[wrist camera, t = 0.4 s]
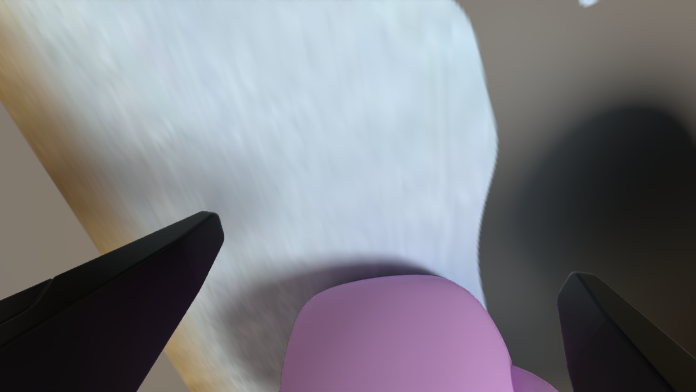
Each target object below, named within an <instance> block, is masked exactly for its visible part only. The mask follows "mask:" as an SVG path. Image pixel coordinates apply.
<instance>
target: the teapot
mask: <svg viewBox="0 0 696 392" xmlns="http://www.w3.org/2000/svg"><path fill="white" fill-rule="evenodd" d="M280 392H558V391H557V390H556V389H555V388H553V387H552V386H551V385H550V384H549V383H547V382H546V381H544V380H542V379H541V378H539V377H537V376H536V375H534V374H532V373H530V372H528V371H525V370H523V369H521V368H518V367H516V366H513V365H512V362H511V359H510V356H509V353H508V350H507V348H506V345H505V343H504V341H503V339H502V337H501V335H500V333H499V331H498V329H497V328H496V326H495V324H494V322H493V321H492V319H491V317H490V316H489V314H488V313H487V311H486V310H485V309H484V307H483V306H482V305H481V303H480V302H479V301H478V300H477V299H476V298H475V297H474V296H473V295H472V294H471V293H470V292H469V291H467V290H466V289H464V288H463V287H461V286H459V285H458V284H456V283H454V282H453V281H450V280H448V279H445V278H443V277H438V276H433V275H396V276H385V277H377V278H370V279H364V280H359V281H354V282H349V283H345V284H341V285H338V286H335V287H331V288H329V289H326V290H324V291H322V292H320V293H318V294H317V295H315V296H313V297H312V298H311V299H310V300H309V301H308V302H307V303H306V304H305V305H304V306H303V308H302V309H301V311H300V313H299V315H298V317H297V319H296V321H295V323H294V326H293V329H292V332H291V335H290V338H289V342H288V345H287V349H286V353H285V358H284V363H283V369H282V374H281V383H280Z"/></svg>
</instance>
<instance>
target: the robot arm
mask: <svg viewBox="0 0 696 392" xmlns="http://www.w3.org/2000/svg"><path fill="white" fill-rule="evenodd" d="M223 242H224V232H223V229H222V225H221V221H220V218H219V216H218V214H217V213H214V212H208V211H201V212H199V213H196V214H194V215H192V216H190V217H187V218H185V219H183V220H181V221H178V222H176V223H174V224H172V225H169V226H167V227H165V228H163V229H160V230H158V231H156V232H154V233H152V234H149V235H147V236H145V237H143V238H140V239H138V240H136V241H134V242H131V243H129V244H127V245H125V246H122V247H120V248H118V249H116V250H113V251H111V252H109V253H107V254H104V255H102V256H100V257H98V258H95V259H93V260H91V261H89V262H86V263H84V264H82V265H80V266H77V267H75V268H73V269H71V270H68V271H66V272H64V273H62V274H59V275H57V276H55V277H54V278H53V279H48V280H46V281H44V282H41V283H39V284H37V285H35V286H32V287H30V288H28V289H26V290H23V291H21V292H19V293H16V294H14V295H12V296H9V297H7V298H5V299H2V300H0V392H137V390H138V389H139V387H140V385H141V384H142V382H143V381H144V379H145V377H146V376H147V374H148V373H149V371H150V369H151V368H152V366H153V365H154V363H155V361H156V360H157V358H158V356H159V355H160V353H161V352H162V350H163V349H164V347H165V345H166V344H167V342H168V341H169V339H170V337H171V336H172V334H173V333H174V331H175V329H176V328H177V326H178V325H179V323H180V321H181V320H182V318H183V317H184V315H185V313H186V312H187V310H188V309H189V307H190V305H191V304H192V302H193V301H194V299H195V297H196V296H197V294H198V292H199V291H200V289H201V287H202V285H203V283H204V281H205V279H206V277H207V275H208V273H209V271H210V269H211V267H212V265H213V263H214V261H215V259H216V257H217V255H218V253H219V250H220V248H221V246H222V244H223ZM557 306H558V313H559V319H560V326H561V332H562V339H563V345H564V352H565V358H566V363H567V368H568V372H569V376H570V380H571V384H572V387H573V391H574V392H696V359H695V358H694V357H693V356H692V355H690V354H689V353H688V352H687V351H686V350H684V349H683V348H682V347H681V346H680V345H678V344H677V343H676V342H675V341H674V340H672V339H671V338H670V337H669V336H668V335H667V334H665V333H664V332H663V331H662V330H661V329H659V328H658V327H657V326H656V325H654V324H653V323H652V322H651V321H650V320H649V319H647V318H646V317H645V316H644V315H642V314H641V313H640V312H639V311H638V310H637V309H635V308H634V307H633V306H632V305H631V304H629V303H628V302H627V301H626V300H625V299H623V298H622V297H621V296H620V295H619V294H617V293H616V292H615V291H614V290H613V289H612V288H610V287H609V286H608V285H607V284H605V283H604V282H603V281H602V280H601V279H600V278H598V277H597V276H596V275H593V274H589V273H583V272H573V273H571V274H570V275H569V277H568V279H567V280H566V282H565V284H564V285H563V287H562V289H561V290H560V292H559V294H558V297H557Z"/></svg>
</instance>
